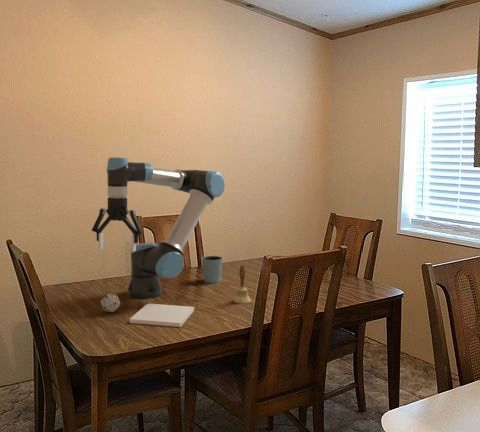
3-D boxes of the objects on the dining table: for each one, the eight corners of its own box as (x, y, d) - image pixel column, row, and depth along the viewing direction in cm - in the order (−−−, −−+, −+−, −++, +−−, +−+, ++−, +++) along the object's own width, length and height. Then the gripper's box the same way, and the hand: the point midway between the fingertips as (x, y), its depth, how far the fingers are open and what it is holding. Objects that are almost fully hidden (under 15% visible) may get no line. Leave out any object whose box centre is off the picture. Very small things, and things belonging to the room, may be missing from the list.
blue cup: (226, 280, 257) (226, 257, 255) (214, 285, 248) (215, 260, 247) (209, 277, 262) (210, 254, 260) (198, 281, 254) (198, 258, 252)
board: (194, 310, 209) (194, 306, 208) (180, 327, 189) (180, 323, 189) (147, 306, 212) (147, 303, 212) (129, 322, 192) (129, 319, 192)
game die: (115, 320, 206) (130, 300, 206) (104, 319, 198) (119, 298, 198) (101, 306, 209) (116, 287, 209) (89, 304, 201) (105, 284, 201)
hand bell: (245, 304, 218) (246, 268, 216) (229, 301, 222) (229, 265, 220) (254, 300, 225) (255, 264, 223) (239, 296, 229) (239, 262, 227)
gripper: (151, 197, 201) (150, 250, 203) (91, 194, 204) (91, 246, 207) (144, 199, 194) (144, 253, 196) (83, 196, 197) (83, 250, 200)
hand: (117, 250), depth 202 cm, fingers open, 13 cm apart
